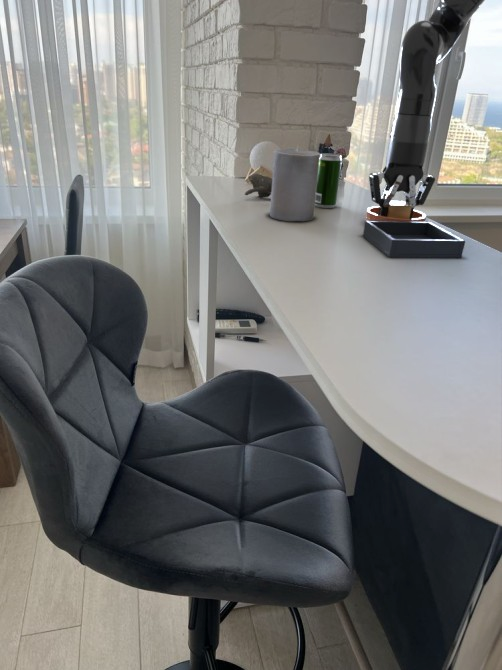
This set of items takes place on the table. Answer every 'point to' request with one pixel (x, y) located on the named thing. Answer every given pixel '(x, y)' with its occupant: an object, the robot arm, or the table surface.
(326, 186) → the beer can
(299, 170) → the pillar candle
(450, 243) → the tray
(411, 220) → the plate
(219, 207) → the table surface
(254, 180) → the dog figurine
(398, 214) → the block
